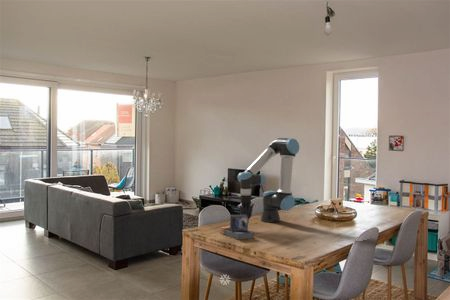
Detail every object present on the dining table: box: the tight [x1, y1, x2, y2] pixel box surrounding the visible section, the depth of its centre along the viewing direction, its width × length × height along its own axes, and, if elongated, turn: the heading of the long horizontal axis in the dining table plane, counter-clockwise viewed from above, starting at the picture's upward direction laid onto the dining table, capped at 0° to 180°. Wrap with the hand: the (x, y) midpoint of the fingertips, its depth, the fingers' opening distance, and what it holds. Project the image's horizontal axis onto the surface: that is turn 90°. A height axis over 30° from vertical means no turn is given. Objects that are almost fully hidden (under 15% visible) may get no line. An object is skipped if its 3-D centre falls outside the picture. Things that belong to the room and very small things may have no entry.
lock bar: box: [220, 225, 232, 235], centre depth 264 cm, size 13×3×4 cm, turn 126°
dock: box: [219, 230, 255, 241], centre depth 258 cm, size 12×21×3 cm, turn 36°
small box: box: [229, 213, 249, 232], centre depth 255 cm, size 11×6×10 cm, turn 106°
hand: (245, 228), depth 272 cm, fingers closed
